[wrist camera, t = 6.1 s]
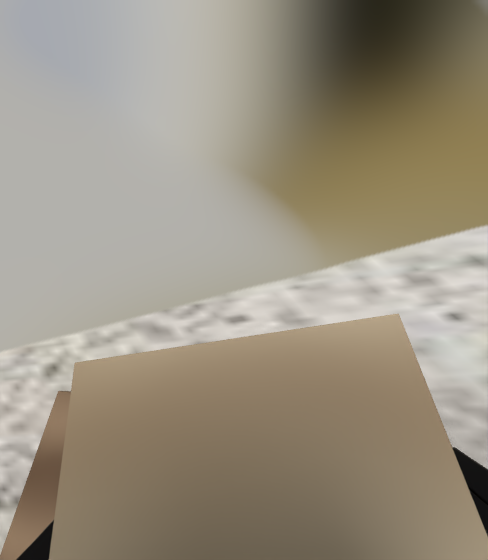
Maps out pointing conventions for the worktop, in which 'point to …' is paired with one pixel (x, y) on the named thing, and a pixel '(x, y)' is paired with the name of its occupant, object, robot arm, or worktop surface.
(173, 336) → the worktop surface
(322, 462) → the ash block
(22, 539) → the walnut block
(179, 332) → the worktop surface
